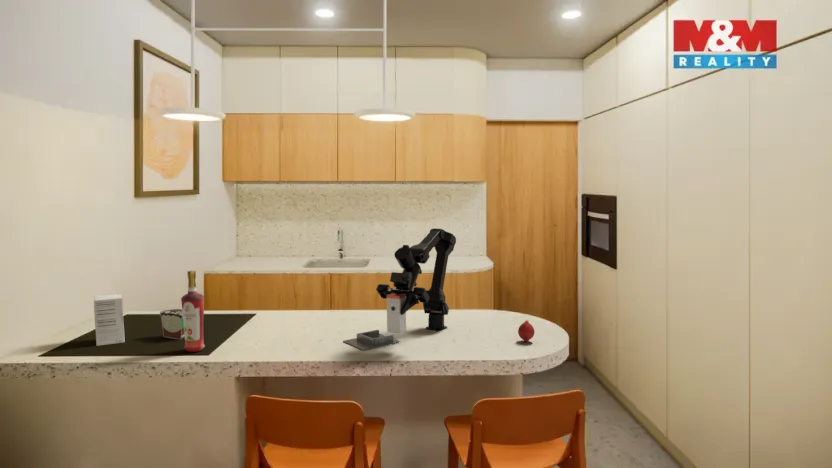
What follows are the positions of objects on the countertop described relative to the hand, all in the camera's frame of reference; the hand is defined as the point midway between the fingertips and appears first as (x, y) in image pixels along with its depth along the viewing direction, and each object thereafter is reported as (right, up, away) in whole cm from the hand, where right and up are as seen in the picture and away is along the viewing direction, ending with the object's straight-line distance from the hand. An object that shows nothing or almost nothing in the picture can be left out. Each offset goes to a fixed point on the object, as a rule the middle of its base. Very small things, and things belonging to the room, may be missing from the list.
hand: (394, 313), depth 187 cm
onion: (+48, -12, +13) cm, 51 cm away
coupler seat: (-9, -12, +13) cm, 20 cm away
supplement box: (-106, -13, +16) cm, 108 cm away
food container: (-84, -12, +22) cm, 87 cm away
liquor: (-70, -14, +4) cm, 72 cm away
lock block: (+1, -6, +2) cm, 7 cm away
